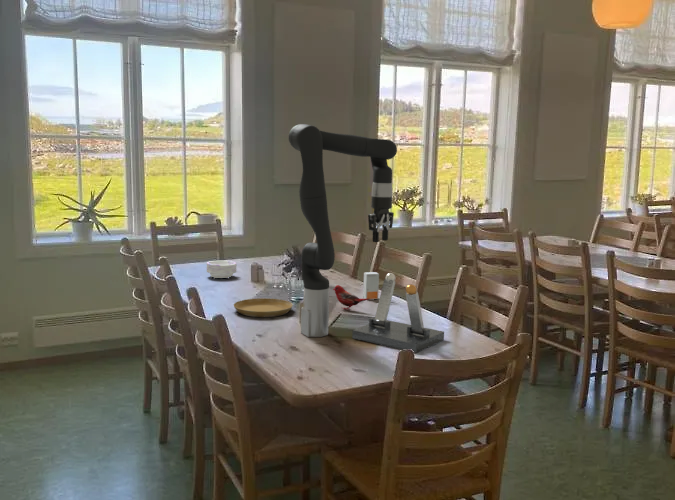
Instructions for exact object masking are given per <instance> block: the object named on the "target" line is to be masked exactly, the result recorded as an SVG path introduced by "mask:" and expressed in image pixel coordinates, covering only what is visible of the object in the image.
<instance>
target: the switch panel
mask: <svg viewBox="0 0 675 500" xmlns="http://www.w3.org/2000/svg"><path fill="white" fill-rule="evenodd" d="M374 318H375V317H370V318H368V324H366V325H363V326H360V327H358V328H355V329H354V328H353V329H352V333H351V335H352V339H354V340H358V341H362V342H367V343H371V344H376V345H378V346H379V345H380V346H384V347H388V348H392V349H397V350H401V349H412V350H413V351H414V352H415V354H417V353H419V352H422V351H424V350H426V349H428V348H429V347H431V346H432V347H433V346H434V345H436V344H438V343H440V342H442V341H444V340H445V331H443V330H437V329H433V328H428V327H424V329H425V330H424V336H423V335H419V334H414V333H411V332H410V330H411V324H408V323H404V322H398V321H395V320H389V319H387V320H386V322H385V325H384V327H381V326H376V325H373V324H372V321H373V319H374ZM414 352H413V353H414Z"/></svg>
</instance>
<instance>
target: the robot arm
mask: <svg viewBox="0 0 675 500" xmlns="http://www.w3.org/2000/svg"><path fill="white" fill-rule="evenodd" d="M288 142H289V144H290V145H291V147H293V149H295V150H296V151H298V152H299V153H300V157H301V163H302V164H301V165H302V174H301V178H300V181H299V182H300V183H299V189H298V190H299V191H298V193H299V195H298V196H299V202H300V210H301V212H302V214H303V216H304V218H305V219H306V221H307V222H308V224H309V226H310V227H311V228H312V230H313V232H314V236H315V240H316V242H307V243H306V244H305V245H304V246H303V247H302V251H301V255H300V256H301V261H300V263H301V279H302V282H303V302H302V303H303V306H302V307H300V333H301V334H302V335H304V336H306V337H308V338H310V337H311V338H319V337H320V338H321V337H325V336H328V335H329V322H330V321H329V313H330V311H329V309H330V280H329V279H328V278H327V277H326V276H324V275H323V274H322V273H321V271H329V270H331V269H332V267H333V266H334V264H335V258H336V255H335V247H334V243H333V238H332V232H331V228H330V219H329V213H328V210H329V209H328V198H327V192H326V183H325V182H326V181H325V174H324V164H323V160H324V158H323V157H324V156H323V154H324V153H323V152H324V151H329V152H335V153H337V154H343V155H348V156H356V157H362V158H363V157H366V158H367V157H368V158H369V157H370V163H371V168H372V185H371V202H370V205H371V206H370V207H371V209H373V212H372V213H368V214H367V215H368V216H367V218H368V230H369V231H370V232H372V242H373V243H379V240H380V229H381V228H382V229H381V239H382V241H388V240H389V231H390V229H392V228H393V224H394V223H393V222H394V215H395V213H394V211H390V209H392V207H393V169H392V168H391V167H390V166H389V165H388V160H392V159H394V157H395V156H397V152H398V147H397V145H396V143H395V142H394V141H392V140H390V139H383V138H370V137H367V136H361V135H355V134H349V133H348V134H346V133H336V132H329V131H325V130H320V129H319V128H318V127H317V126H315V125H312V124H306V123H299V124H297V125H294V126H293V127H292V128H291V129H290V131H289V132H288ZM323 150H324V151H323ZM320 270H321V271H320Z"/></svg>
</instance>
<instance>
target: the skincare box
mask: <svg viewBox="0 0 675 500" xmlns="http://www.w3.org/2000/svg"><path fill="white" fill-rule="evenodd" d="M379 283H380V273H378V272H376V271H375V272H374V271H371V272H369V271H368V272H367V271H366V272H363V290H362V292H363V293H362V299H369V301H370V300H374V299H378V300H379V286H380V285H379ZM374 301H375V300H374Z"/></svg>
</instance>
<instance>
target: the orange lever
mask: <svg viewBox="0 0 675 500" xmlns="http://www.w3.org/2000/svg"><path fill="white" fill-rule="evenodd" d="M405 298H406V304H407V310H408V315H409V320H410V325H411V330H410V332H411V333H414V334H419V335H423V336H424V330H425V329H424V328H425V326H424V320H423V315H422V308H421V302H420V297H419V292H418V291H417V287H416V286H415V285H414V284H411V283H410V284H408V285H407V286H406V287H405Z"/></svg>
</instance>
